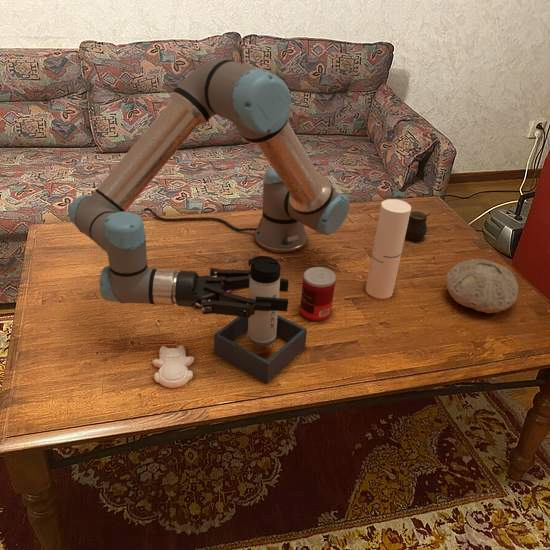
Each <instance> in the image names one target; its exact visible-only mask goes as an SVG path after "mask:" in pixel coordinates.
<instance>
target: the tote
mask: <svg viewBox="0 0 550 550" xmlns="http://www.w3.org/2000/svg"><path fill="white" fill-rule="evenodd" d="M247 332H248V317H240V316H236V317H235V318H234V319H233V320H231V321H230V322H229V323H227V324H226V325H225V326H223V327H222V328H221V329H219V330H218V331H217V332H215V333H214V334H213V354H214V355H216V356H217V357H219V358H220V359H223V360H224V361H226V362H228V363H230V364H231V365H233V366H235V367H237V369H240V370H242V371H244V372H245V373H247V374H249V375H250V376H252V377H254V378H256V379H258V380H260V381H261V382H263V383H265V384H268V383H269V382H270V381H271V380H272V379H273V378H274V377H276V375H278V374H279V373H280V372H281V371H282V370H283V369H284V368H285V367H286V366H288V364H289V363H290V362H291V361H293V360H294V359H295V358H296V357H297V356H298V355H299V354H300V353H301V352H302V351H303V350H305V348H306V342H307V333H308V329H307V328H306V327H304V326H302V325H299V324H297V323H295V322H294V321H291V320H289V319H287V318H285V317H283V316H281V315H279V314H278V316H277V330H276V337H278V338H279V339H281V340H283V341H286V342H287V343H285V344H284V345H283V346H282V347H281V348H280V349H278V351H276V352H275V353H274V354H273V355H272V356H270V358H268V359H265V358H263V357H261V356H260V355H258V354H256V353H254V352H253V351H250V350H248V348H245V347H243V346H241V345H239V344H238V343H236V342H235V341H236V340H237V339H239V338H240V337H242V336H243V335H244V334H245V333H247Z"/></svg>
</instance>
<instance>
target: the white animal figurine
mask: <svg viewBox="0 0 550 550" xmlns="http://www.w3.org/2000/svg"><path fill="white" fill-rule="evenodd" d="M186 352H187V351H186V348H185V346H184V345H183V344H180V345H178V347H167V346H166V345H161V347H160V348H159V355H158V356H159V358H154V359H152V365H153V367H155V368H158V371H157V372H155V373H154V374H153V379H154V381H155V382H156V383H158V384H160V385H161V386H162V387H165V388H170V389H175V388H180V387H184V385H187V384H188V382H189V381H191V380H192V379H193V377H194V373H193V371H192V370H191V369H189V368H188V367H189V366H191V365H192V364H193V363H194V362H195V357H194V356H191V355H189V356H187V355H186Z"/></svg>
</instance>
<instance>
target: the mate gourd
mask: <svg viewBox="0 0 550 550" xmlns="http://www.w3.org/2000/svg"><path fill="white" fill-rule="evenodd" d="M431 213H432V212H430V213H428V214H426V213H425V212H423V211H421V210H411V212H410V216H409V221H408V226H407V230H406V235H405V239H407V240H409V241H413V242H418V241H421V240H422V239H423V238H425V236H426V234H427V232H428V231H427V230H428V226H427V219H428V216H429V215H431Z"/></svg>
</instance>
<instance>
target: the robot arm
mask: <svg viewBox="0 0 550 550" xmlns="http://www.w3.org/2000/svg"><path fill="white" fill-rule="evenodd" d="M290 92H291V91H290V90H289V87H288V86H287V84H286V83H285V81H284V80H283V79H281V78H280V76H277V75H275V74H274V73H272V72H270V71H268V70H265V69H262V68H261V69H260V68H257V67H253V66H250V65H247V64H244V63H242V62H239V61H236V60H234V59H231V58H224V57H222V58H215V59H211V60H208V61H206V62H204V63H203V64H201V65H199V66H198V67H196V68H195V69H193V71H191V72H190V73H189V74H188V75H187V76H186V77H184V78H183V79H182V80H181V81H180V83H178V85H176V87H175V88H174V89H173V91H172V92H171V93H170V102H169V103H168V104H167V105H166V106H165V107H164V108H163V110H162V111H160V113H159V114H158V116H157V117H156V118H155V119H154V120H153V121H152V123H151V124H150V125H149V126H148V127H147V128H146V130H145V131H144V132H143V133H142V135H141V136H140V137H139V138H138V139H137V141H136V142H134V144H133V145H132V146H131V147H130V149H129V150H128V151H127V152H126V154H124V155H123V157H122V159H121V160H119V162H118V163H117V164H116V166H115V167H114V168H113V169H111V171H110V172H109V174H108V175H107V176H106V177H105V178H104V180H103V181H102V182H101V183H100V185H98V187H97V188H96V189H95V190H94V192H93V193H91V194H82V195H80V196H78V197H76V198H74V200H73V201H72V202H71V203H70V206H69V208H68V217H69V219H70V222H71V223H72V224H73V225H74V226H75V227H76V228H77V229H78V231H79V232H80V233H81V234H84V235H85V236H87V237H88V238H89V239H90V240H92V241H93V242H94V243H95V244H96V245H97V246H98V247H100V248H101V250H103V251H104V252H105V253H106V254H107V259H108V265H106V266H104V267H103V268H102V270H101V272H100V276H99V293H100V297H101V298H102V299H103V300H105V301H107V302H114V303H119V304H144V305H145V304H146V305H147V304H149V305H160V306H172V307H173V306H175V305H177V306H178V307H185V308H194V307H196V306H195V304H196V303H197V304H200V305H202V306H201V314H202V315H213V314H214V315H224V316H231V317H238V316H240V317H251V315H254V314H255V311H256V310H257V311H278V312H288V307H289V306H288V304H289V298H284V297H283V298H281V297H279V298H269V297H256V301H255V300H254V299H251V298H249V297H247V296H243V295H239V294H235V293H232V292H227V291H228V290H232V291H235V290H243V289H249V283H250V269H220V268H216V267H210V268H209V273H208V274H205V275H198V272H197V271H195V270H182V269H180V270H179V271H178V270H177V269H173V268H171V269H169V268H155V267H154V268H151V267H148V257H147V256H148V255H147V239H146V238H147V233H146V230H145V225H144V221H143V218H142V216H140V215H139V214H138V213H135V212H130V211H128V210H129V208H130V207H131V206H132V205H133V204H134V202H135V201H136V200H137V199H138V197H140V195H141V194H142V193H143V192H144V191H145V189H146V188H147V187H148V186H149V184H150V183H151V182H152V181H153V180H154V179H155V177H156V176H157V175H158V173H160V172H161V171H162V169H163V168H164V166H165V165H166V164H168V162H169V161H170V160H171V158H172V157H173V156H174V154H176V152H177V151H178V150H179V148H180V147H181V146H183V144H184V143H185V142H186V140H187V139H188V138H189V137H190V136H191V134H192V133H193V132H194V130H196V128H198V127H199V126H205V125H206V124H207V123H208V121H209V120H210V119H212V117H214V116H218V117H221V118H224V119H226V120H228V121H230V122H231V123H232V125H234V127H235V128H236V129H237V131H238V132H239V133H240V135H241V136H242V138H243V139H244V140H245V141H246V142H248V143H250V144H255V145H257V147H258V149H259V150H260V152H261V154H262V155H263V156H264V157H265V159H266V160H267V162H268V163H269V165H270V167H267V169H266V170H265V172H264V177H263V182H262V184H263V187H262V190H263V191H262V215H261V218H260V220H259V222H258V225H257V227H245V228H239V227H236V226H233V225H232V224H230V223H229V222H228V221H226V220H224V219H222V218H218V217H211V216H210V217H209V216H203V217H202V216H201V217H174V218H173V217H172V218H171V217H170V218H169V217H163V216H159V215H158V214H157V213H155V211H153V210H152V209H151V208H150V207H145V208H143V212H147V211H149V212H150V213H151V214H152V215H153V217H155V218H157V219H158V220H161V221H166V222H167V221H168V222H175V221H202V220H203V221H205V220H207V221H208V220H209V221H217V222H221V223H224V224H225V225H226V226H228V227H229V228H230V229H232V230H234V231H238V232H247V231H251V232H252V231H253V232H254V231H255V234H254V240H255V243H256V245H257V246H258V247H260V248H261V249H263V250H265V251H268V252H271V253H274V254H275V253H277V254H291V253H295V252H298V251H300V250H302V249H303V248H304V247H305V246H306V244H307V233H306V229H305V226H306V227H308V228H310V229H312V230H313V231H315V233H317V234H318V233H319V234H321V235H323V236H330V235H332V234H334V233H336V232H337V231H338V230H339V229H340V228H341V226H342V225H343V224H344V222H345V221H346V219H347V217H348V213H349V211H350V200H349V198H348V197H347V196H346V195H345V194H344V193H340V192H338V191H336V189H335V188H334V186H333V185H332V183H331V181H330V180H329V178H328V177H327V176H326V175H324V174H321V173H319V172H318V171H317V169H316V167H315V165H314V163H313V162H312V161H311V159H310V157H309V155H308V154H307V152H306V150H305V148H304V147H303V145H302V143H301V142H300V140H299V138H298V136H297V135H296V133H295V131H294V130H293V128H292V126H291V124H290V121H289V120H290V115H291V110H292V107H291V106H290V104H291V103H292V96H291V93H290ZM221 282H222V283H221ZM288 291H289V279H286V278H280V288H279V292H284V293H285V292H286V293H288Z"/></svg>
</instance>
